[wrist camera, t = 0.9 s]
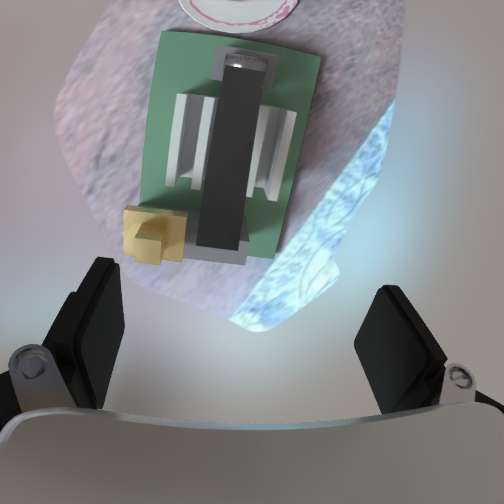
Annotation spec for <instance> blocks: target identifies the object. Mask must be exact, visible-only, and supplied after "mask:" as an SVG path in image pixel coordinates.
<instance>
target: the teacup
mask: <svg viewBox="0 0 504 504" xmlns="http://www.w3.org/2000/svg"><path fill="white" fill-rule="evenodd" d="M297 1H298V0H247V1H244V2H234V1H230V0H179V2H180V4H181V6H182V9H183V10H184V11H185V12H186V13H187V14H188V15H189V16H190V17H191V18H192V19H193V20H194V21H196V22H198V23H200V24H202V25H204V26H206V27H208V28H210V29H211V30H216V31H221V32H226V33H230V34H234V33H252V32H256V31H259V30H262V29H266V28H269V27H271V26H273V25H274V24H276V23H278V22H279V21H281V20H282V19H284V18H286V16H287V15H288V14H289V13H290V12H291V10H292V9H293V8H294V7H295V6H296V4H297Z"/></svg>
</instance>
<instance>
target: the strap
mask: <svg viewBox="0 0 504 504" xmlns="http://www.w3.org/2000/svg"><path fill="white" fill-rule="evenodd" d="M268 62H269V61H268V60H266V59H261V58H256V57H251V56H245V55H239V54H232V53H226V56H225V61H224V66H223V72H224V73H223V78H222V83H221V88H220V94H219V99H218V104H217V110H216V115H215V121H214V126H213V132H212V138H211V144H210V150H209V156H208V163H207V169H206V176H205V182H204V189H203V196H202V203H201V210H200V218H199V225H198V233H197V241H196V246H201V247H209V248H217V249H225V250H233V251H238V249H239V242H240V235H241V228H242V221H243V214H244V207H245V200H246V193H247V187H248V180H249V173H250V167H251V160H252V153H253V147H254V140H255V134H256V127H257V121H258V115H259V108H260V102H261V96H262V89H263V83H264V78H265V76H266V73H267V68H268Z"/></svg>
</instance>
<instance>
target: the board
mask: <svg viewBox="0 0 504 504" xmlns="http://www.w3.org/2000/svg"><path fill="white" fill-rule="evenodd" d="M226 53H232V54H239V55H245V56H251V57H256V58H261V59H266V60H268V61H269V62H268V68H267V73H266V76H265V78H264V83H263V89H262V96H261V102H260V108H259V115H258V121H257V127H256V134H255V140H254V147H253V153H252V160H251V167H250V173H249V180H248V187H247V193H246V200H245V207H244V214H243V221H242V228H241V235H240V242H239V249H238V251H233V250H225V249H217V248H209V247H201V246H196V241H197V233H198V225H199V218H200V210H201V203H202V196H203V189H204V182H205V176H206V169H207V163H208V156H209V150H210V144H211V138H212V132H213V126H214V121H215V115H216V110H217V104H218V99H219V94H220V88H221V83H222V78H223V73H224V72H223V66H224V61H225V56H226ZM320 61H321V57H319V56H316V55H312V54H308V53H305V52H301V51H297V50H293V49H288V48H284V47H279V46H275V45H270V44H265V43H260V42H255V41H249V40H243V39H237V38H230V37H223V36H216V35H207V34H198V33H186V32H172V31H162V32H161V37H160V42H159V47H158V52H157V57H156V63H155V68H154V74H153V80H152V87H151V93H150V100H149V107H148V115H147V123H146V132H145V141H144V151H143V162H142V175H141V189H140V204H139V205H138V206H139V207H147V208H156V209H165V210H173V211H181V212H188V217H187V226H186V236H185V246H184V256H183V258H188V259H196V260H204V261H212V262H221V263H229V264H238V265H245V262H246V258H247V256H254V257H262V258H271V259H274V256H275V252H276V248H277V244H278V240H279V237H280V233H281V229H282V224H283V220H284V216H285V212H286V208H287V204H288V200H289V196H290V192H291V188H292V184H293V179H294V175H295V171H296V167H297V163H298V158H299V154H300V150H301V146H302V141H303V137H304V133H305V128H306V124H307V120H308V115H309V111H310V107H311V102H312V98H313V93H314V89H315V84H316V80H317V75H318V70H319V66H320Z"/></svg>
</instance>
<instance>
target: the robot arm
mask: <svg viewBox="0 0 504 504" xmlns="http://www.w3.org/2000/svg"><path fill="white" fill-rule="evenodd" d="M124 328H125V322H124V313H123V305H122V293H121V281H120V267H119V264H118V263H115V262H114V259H113V258H104V257H97V258H96V259H95V261H94V263H93V264H92V266H91V268H90V269H89V271H88V272H87V274H86V276H85V277H84V279H83V281H82V283H81V284H80V286H79V288H78V290H77V291H76V292H71V293H70V294H69V296H68V297H67V299H66V301H65V302H64V304H63V306H62V308H61V309H60V311H59V313H58V315H57V317H56V319H55V320H54V322H53V324H52V326H51V328H50V330H49V332H48V334H47V336H46V337H45V339H44V341H43V343H42V345H38V344H29V345H25V346H22V347H20V348H19V349H17V350H16V351H15V352H14V353H13V354H12V356H11V357H10V360H9V364H8V368H9V371H6V372H4V373H2V374H0V504H504V406H503V405H502V404H500V403H498V402H496V401H494V400H493V399H491V398H489V397H488V396H486V395H484V394H482V393H480V392H478V391H477V390H475V388H476V382H475V378H474V376H473V375H472V373H471V372H470V371H469V370H468V369H467V368H465V367H464V366H462V365H460V364H455V363H453V364H450V365H448V366H447V367H446V368H445V366H444V363H445V362H446V361H447V359H448V358H447V357H446V355H445V354H444V352H443V350H442V349H441V347H440V346H439V344H438V343H437V341H436V340H435V338H434V337H433V335H432V333H431V332H430V331H429V329H428V327H427V326H426V324H425V323H424V321H423V320H422V318H421V317H420V316H419V314H418V313H417V311H416V310H415V308H414V307H413V306H412V304H411V303H410V301H409V300H408V299H407V297H406V296H405V294H404V293H403V291H402V290H401V289H400V287H399V286H396V285H383V286H382V288H380V289H378V291H377V293H376V295H375V298H374V300H373V302H372V304H371V307H370V308H369V311H368V313H367V315H366V317H365V319H364V322H363V323H362V325H361V327H360V330H359V332H358V334H357V336H356V338H355V340H354V347H355V350H356V353H357V355H358V357H359V360H360V362H361V364H362V367H363V369H364V372H365V374H366V376H367V379H368V381H369V384H370V386H371V389H372V391H373V394H374V396H375V399H376V401H377V404H378V406H379V409H380V411H381V413H382V415H375V416H368V417H360V418H351V419H342V420H331V421H317V422H299V423H267V424H266V423H262V424H261V423H258V424H256V423H253V424H252V423H217V422H199V421H186V420H176V419H166V418H156V417H147V416H139V415H132V414H125V413H119V412H111V411H103V410H97V409H102V408H103V405H104V401H105V397H106V393H107V389H108V386H109V382H110V378H111V375H112V371H113V367H114V364H115V360H116V357H117V354H118V350H119V347H120V343H121V340H122V336H123V334H124Z"/></svg>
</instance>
